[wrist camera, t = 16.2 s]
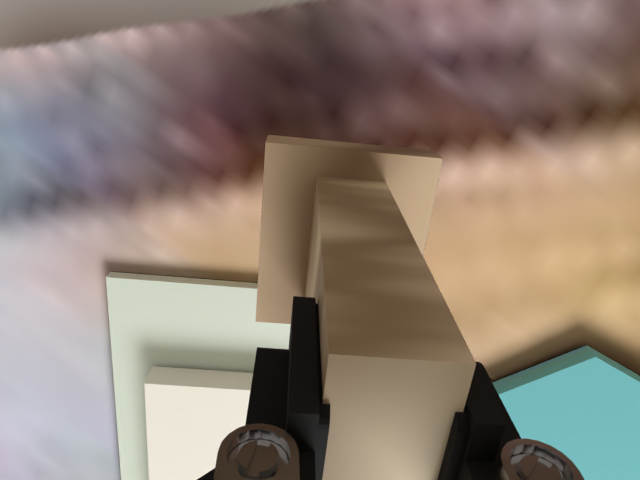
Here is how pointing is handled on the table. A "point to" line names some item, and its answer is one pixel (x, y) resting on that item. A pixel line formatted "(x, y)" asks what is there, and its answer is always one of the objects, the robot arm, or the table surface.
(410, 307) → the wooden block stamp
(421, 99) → the table surface
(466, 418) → the robot arm
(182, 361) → the board
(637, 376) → the plaque
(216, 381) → the tile
